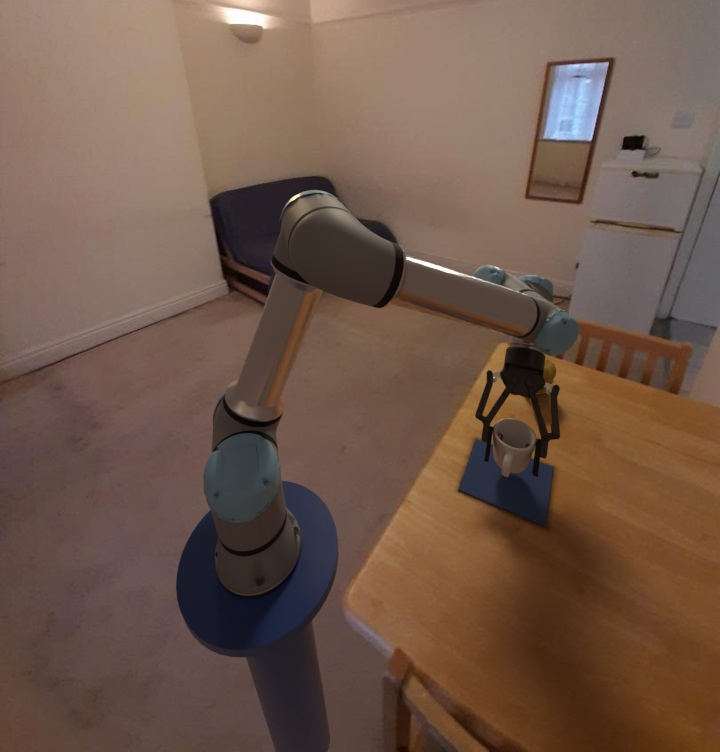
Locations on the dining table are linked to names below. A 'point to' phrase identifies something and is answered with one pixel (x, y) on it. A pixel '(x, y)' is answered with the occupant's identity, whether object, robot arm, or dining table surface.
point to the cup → (513, 445)
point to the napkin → (508, 485)
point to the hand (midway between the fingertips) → (510, 468)
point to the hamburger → (548, 373)
